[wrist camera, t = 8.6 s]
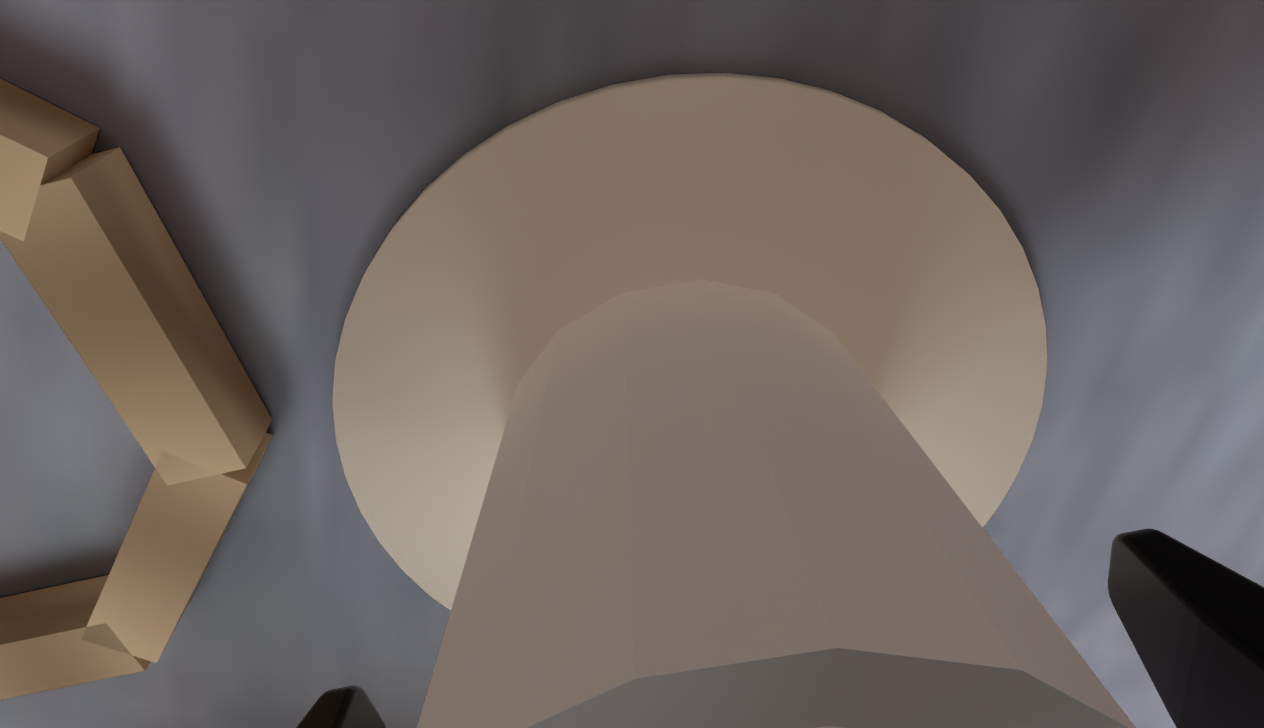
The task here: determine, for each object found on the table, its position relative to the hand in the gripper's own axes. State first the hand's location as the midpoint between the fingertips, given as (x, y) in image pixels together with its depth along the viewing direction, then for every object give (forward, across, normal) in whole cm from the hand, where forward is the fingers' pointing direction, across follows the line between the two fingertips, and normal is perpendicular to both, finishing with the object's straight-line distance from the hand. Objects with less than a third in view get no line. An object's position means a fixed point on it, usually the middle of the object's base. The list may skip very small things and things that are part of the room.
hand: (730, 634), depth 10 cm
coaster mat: (+4, 0, 0) cm, 4 cm away
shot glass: (+4, 0, 0) cm, 4 cm away
